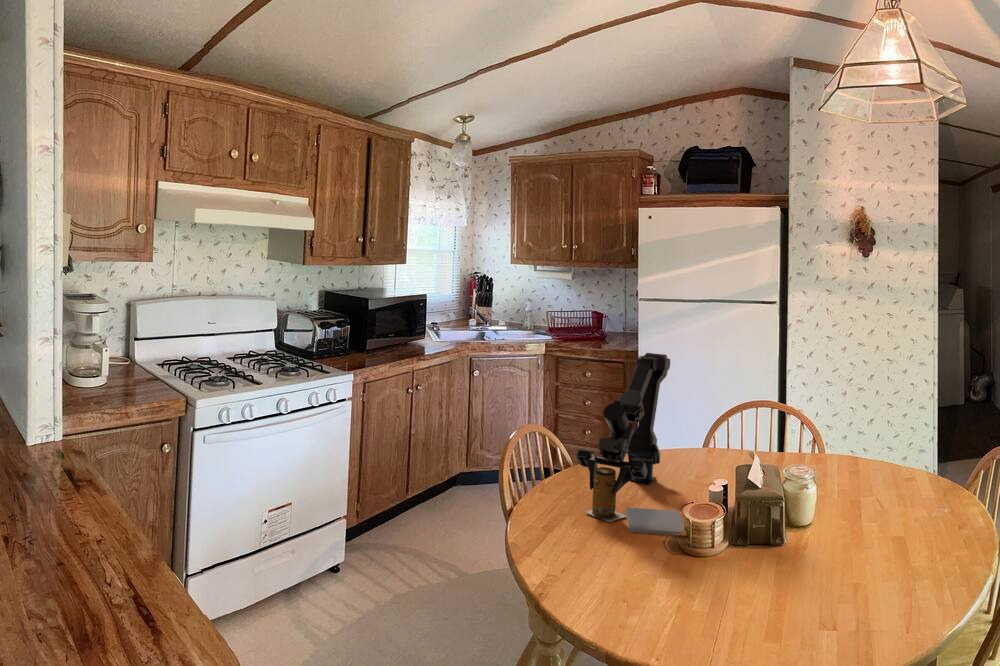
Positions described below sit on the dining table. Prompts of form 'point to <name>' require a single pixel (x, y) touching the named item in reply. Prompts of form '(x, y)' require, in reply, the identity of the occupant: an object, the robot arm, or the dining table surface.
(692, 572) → the dining table surface
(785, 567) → the dining table surface
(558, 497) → the dining table surface
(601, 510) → the condiment
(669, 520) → the slate tile
